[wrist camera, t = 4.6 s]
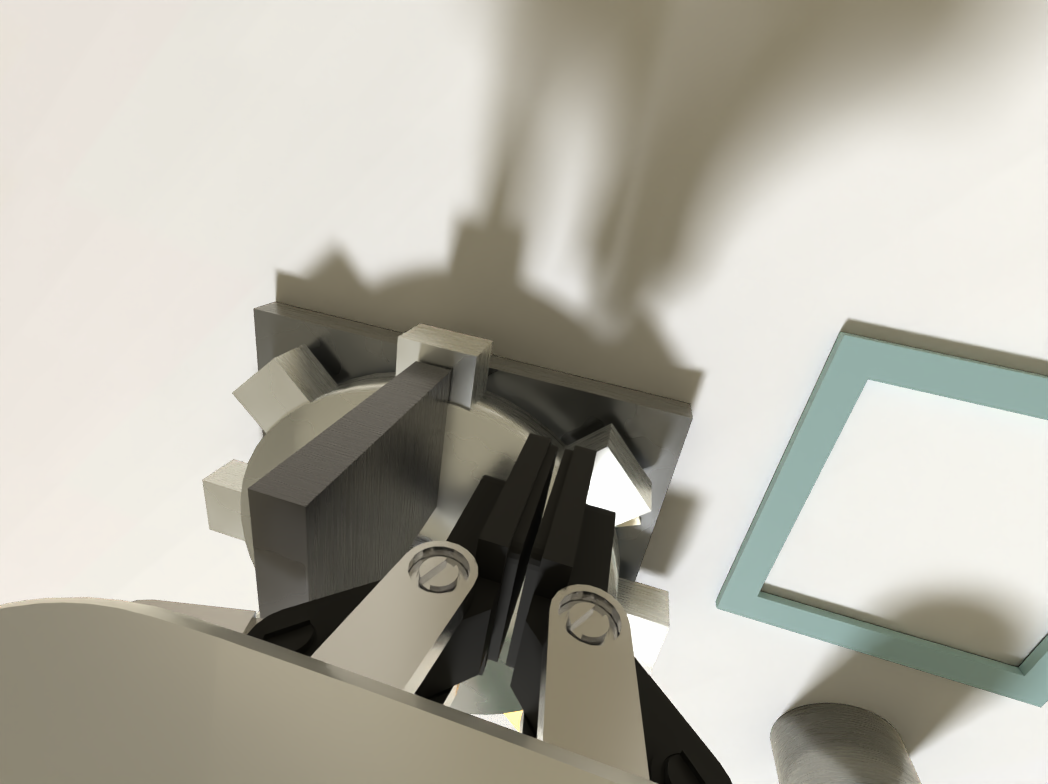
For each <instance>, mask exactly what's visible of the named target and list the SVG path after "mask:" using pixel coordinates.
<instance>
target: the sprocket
mask: <svg viewBox="0 0 1048 784" xmlns="http://www.w3.org/2000/svg"><path fill="white" fill-rule="evenodd" d="M492 343H493V341H492V340H488V339H484V338H480V337H475V336H471V335H467V334H463V333H459V332H455V331H451V330H446V329H442V328H438V327H434V326H430V325H426V324H422V323H420V324H418V325H417V326H415V327H413V328H412V329H410V330H408V331H407V332H405V333H404V334H402V335H400V336H399V337H398V342H397V360H396V372H387V373H375V374H371V375H366V376H362V377H357V378H353V379H351V380H348V381H345V382H343V383H340V384H338V385H337V384H336V382H335V381H334V380H333V379H332V377H331V376H330V375H329V373H328V372H327V371H326V370H325V368H324V367H323V366H322V365H321V363H320V362H319V361H318V360H317V358H316V357H315V356H314V355H313V353H312V352H311V351H310V349H309V348H308V347H307V346H306V344H303V345H301V346H299V347H297V348H295V349H293V350H290V351H288V352H286V353H284V354H282V355H280V356H278V357H275V358H274V359H272V360H271V361H270V362H269V363H268V364H266V365H265V366H264V367H263V368H262V369H260V370H259V371H258V372H257V373H256V374H254V375H253V376H252V377H251V378H250V379H248V380H247V381H246V382H245V383H243V384H242V385H241V386H240V387H239V388H237V389H236V390H235V391H234V392H233V393H232V394H233V395H234V396H235V397H236V398H237V400H238V401H239V402H240V403H241V404H242V405H243V407H244V408H245V409H246V410H247V411H248V413H249V414H250V415H251V416H252V417H253V418H254V420H255V421H256V422H257V423H258V424H259V426H260V427H261V428H262V429H263V430H264V431H265V433H266V435H265V436H264V437H263V439H262V440H261V441H260V442H259V444H258V445H257V446H256V448H255V450H254V452H253V454H252V456H251V458H250V460H249V462H248V463H245V462H241V461H238V460H235V459H233V460H232V461H230V462H229V463H227V464H226V465H224V466H222V467H221V468H219V469H218V470H216V471H215V472H213V473H212V474H210V475H209V476H207V477H206V478H204V479H203V487H204V494H205V501H206V508H207V515H208V522H209V529H210V530H213V531H216V532H219V533H222V534H225V535H228V536H231V537H234V538H237V539H240V540H243V541H245V542H246V545H247V548H248V551H249V555H250V558H251V560H252V562H253V564H254V567H255V570H256V581H257V591H258V601H259V612H258V613H257V614H256V617H257V618H266V617H267V616H268V615H270V614H273V613H275V612H278V611H280V610H282V609H285V608H289V607H292V606H295V605H299V604H302V603H305V602H309V601H312V600H315V599H319V598H322V597H325V596H329V595H332V594H335V593H339V592H342V591H345V590H349V589H352V588H355V587H359V586H362V585H365V584H369V583H372V582H375V581H379V580H382V579H383V578H384V577H385V576H386V575H387V574H388V573H389V571H390V570H391V569H392V568H393V567H394V566H395V565H396V564H397V563H398V562H399V561H400V560H401V559H402V557H403V556H404V555H405V554H406V553H407V552H409V551H410V550H411V549H412V548H414V547H415V546H418V545H420V544H422V543H425V542H431V541H446V540H447V538H448V537H449V535H450V533H451V531H452V530H453V528H454V526H455V524H456V523H457V521H458V519H459V517H460V516H461V514H462V512H463V510H464V509H465V507H466V505H467V503H468V502H469V500H470V498H471V496H472V495H473V493H474V491H475V489H476V488H477V486H478V484H479V482H480V481H481V479H482V478H483V476H484V475H488V476H492V477H495V478H499V479H502V480H506V481H507V479H508V477H509V475H510V473H511V471H512V468H513V466H514V464H515V462H516V460H517V458H518V456H519V454H520V452H521V450H522V448H523V446H524V444H525V442H526V440H527V438H528V436H529V434H530V433H533V434H536V435H540V436H544V437H547V438H551V445H555V446H558V452H557V456H556V460H555V465H554V469H553V473H552V478H551V482H550V486H549V491H548V495H547V499H546V504H545V508H546V505H547V502H548V499H549V496H550V493H551V490H552V487H553V484H554V481H555V478H556V475H557V472H558V469H559V466H560V463H561V460H562V456H563V453H564V450H565V448H566V449H569V450H573V451H574V447H575V445H577V446H581V447H584V448H588V449H592V450H596V451H597V453H596V458H595V463H594V468H593V472H592V477H591V482H590V487H589V492H588V496H587V501H586V504H589V505H593V506H596V507H600V508H603V509H607V510H610V511H614V512H616V520H615V526H616V525H618V524H621V523H623V522H626V521H628V520H631V519H633V518H636V517H638V516H641V515H643V514H646V513H648V512H651V508H652V482H651V481H650V479H649V478H648V476H647V475H646V473H645V472H644V470H643V469H642V467H641V466H640V464H639V463H638V461H637V460H636V458H635V457H634V455H633V454H632V452H631V451H630V449H629V448H628V446H627V445H626V443H625V442H624V440H623V439H622V437H621V436H620V434H619V433H618V431H617V430H616V428H615V427H614V425H613V424H612V423H611V424H609V425H607V426H605V427H603V428H601V429H599V430H597V431H595V432H593V433H591V434H589V435H587V436H585V437H583V438H581V439H579V440H577V441H575V442H573V443H571V444H569V445H566V444H565V443H564V442H563V441H562V440H561V439H560V438H558V437H557V436H556V435H555V434H554V433H553V432H552V431H551V430H550V429H549V428H547V427H546V426H545V425H544V424H542V423H541V422H540V421H538V420H537V419H536V418H535V417H533V416H532V415H531V414H529V413H528V412H526V411H524V410H523V409H521V408H519V407H518V406H516V405H515V404H513V403H511V402H510V401H508V400H506V399H505V398H502V397H500V396H498V395H496V394H494V393H491V392H489V391H487V390H486V385H487V378H488V371H489V364H490V357H491V350H492ZM545 508H544V511H545ZM543 514H544V512H543ZM619 567H620V556H619V546H618V538H617V534H616V531H615V529H614V538H613V547H612V556H611V565H610V574H609V583H608V592H607V593H608V594H610V595H612V596H613V597H614V598H615V599H616V600H617V601H618V602H619V603H620V604H621V605H622V607H623V609H624V610H625V612H626V613H627V616H628V619H629V622H630V627H631V635H632V643H633V651H634V657H635V658H636V659H637V660H638V662H639V663H640V664H641V665H642V667H643V668H644V669H645V670H646V672H647V673H648V674H649V675H650V673H651V670H652V668H653V665H654V663H655V661H656V658H657V656H658V654H659V651H660V649H661V646H662V644H663V642H664V639H665V637H666V634H667V632H668V630H669V627H670V624H669V595H668V591H665V590H662V589H658V588H655V587H652V586H649V585H645V584H642V583H639V582H635V581H632V580H629V579H626V578H622V577H619ZM524 580H525V579H524ZM523 585H524V582H523ZM523 585H522V588H521V591H520V594H519V597H518V601H517V604H516V607H515V610H514V613H513V616H512V619H511V622H510V625H509V628H508V632H507V635H506V638H505V641H504V644H503V647H502V650H501V653H500V656H499V659H498V662H495V661H492V660H489V659H488V661H487V664H486V667H485V670H484V673H483V676H481V675H477V676H475V677H473V678H470V679H468V680H466V681H464V682H462V683H459V688H458V691H457V693H456V696H455V698H454V700H453V701H452V703H451V705H450V707H451V708H453V709H456V710H459V711H462V712H465V713H467V714H484V715H488V714H504V715H505V716H506V717H507V718H508V719H509V721H510V722H511V723H512V724H513V725H514V726H515V728H516V729H517V730H518V731H519V726H520V718H521V714H522V710H523V709H522V707H521V705H520V703H519V701H518V700H517V698H516V696H515V694H514V692H513V691H512V689H511V687H510V684H511V679H512V675H513V671H514V668H512V667H509V666H506V665H505V664H506V660H507V655H508V651H509V646H510V642H511V638H512V633H513V629H514V624H515V620H516V616H517V611H518V607H519V602H520V598H521V593H522V589H523Z"/></svg>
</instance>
